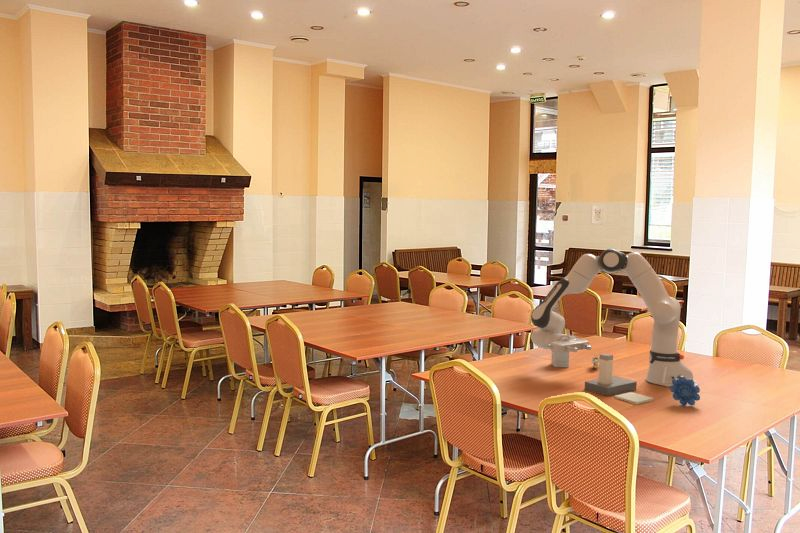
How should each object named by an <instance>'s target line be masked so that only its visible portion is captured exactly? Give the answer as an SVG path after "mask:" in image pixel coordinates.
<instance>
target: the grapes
mask: <svg viewBox="0 0 800 533" xmlns="http://www.w3.org/2000/svg"><path fill="white" fill-rule="evenodd" d="M672 384H673V385H672V386H670V387H669V391H670V392H671V393H672V398H673V399H674V400H675V401H679V403H680V404H681V405H682V406H687V405H689V406H695V405H696V402H698V401H700V400H701V395H699V393H700V391H701V388H700V387H699V385H698V386H694V384H695V383H694V381H693V380H692V379H688V380H686V378H685V377H683V376H681V377H679V380H678V379H673V380H672Z"/></svg>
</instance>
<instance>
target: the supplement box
mask: <svg viewBox="0 0 800 533" xmlns="http://www.w3.org/2000/svg"><path fill="white" fill-rule="evenodd" d="M550 364H551V365H552V366H553V367H554V368H569V367H570V366H569V365H570V352H564V353H558V352H554V351H551V362H550Z"/></svg>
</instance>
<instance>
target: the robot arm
mask: <svg viewBox="0 0 800 533" xmlns="http://www.w3.org/2000/svg"><path fill="white" fill-rule="evenodd" d="M575 262H576V263H575V264H574V265H573V266H572V268H571V270H570V271H569V272H568V274H567V275H566V276H565V277H563V278H560V279H559V280H558V281H557V283H555V284H554V286H553V287H552V288H551V290H550V291H549V292H548V293H547V294H546V296H545V297H544V298H543V299H542V301H541V302H540V303H539V304H538V305H537V306H535V308H534V309H533V310H532V312H531V315H530V321H531V323H532V325H533V326H535V327H537V328H536V329H534V330H532V332H531V335H530V338H531V341H532V343H533V344H534V346H536V347H539V348H540V349H544V350H550V351H551V352H552V351H554V352H558V353H564V352H569V353H577V352H578V351H582V350H583V351H584V350H588V351H590V350H592V346H591V345H590V342H589V340H587V339H584V338H581V337H577V336H576V335H573V334H564V333H563V332H564V330H565V327H566V319H565V317H564V316H563V315H561V314H559V313H557V312H555V311H553V309H554V308H555V306H556V305H557V303H559V301H560V300H561V298H563V296H566V295H570V294H576V295H577V294H582V293H585V292H586V291H587V289H589V287H590V286H591V284H592V282H593V281H594V279H595V277H596V276H597V275H598V274H599V273H604V274H607V275H614V274H617V273H618V272H619V271H621V272H624V273H625V274H626V275H627V277H628V279H629V280H630V281H631V283H632V284H633V286H634V287H635V288H636V290H637V291H638V293H639V294H640V296H641V298H642V300H643V302H644V305H646V307H647V309H648V311H649V313H650V315H651V318H653V324H652V332H651V341H650V344H651V345H650V350H649V355H648V360H649V367H648V371H647V375H646V378H645V381H646V382H648V383H651V384H654V385H660V386H664V387H667V388H668V387H669V388H670V386H672V385H673V384H672V380H673V379H678V380H679V377H681V376H683V377H685V378H686V380H688V379H692V380H693V381H694V383H695V384H694V386H698V387H699V382H698V381H697V380H696V379H694V373H693V371H692V369H691V368H689V367H688V366H687V365H686V364H685V363H684V362H683V361H682V360H684V359H685V355H683V354H681V353H679V352H678V336H679V328H680V318H681V311H682V310H681V309H682V306H681V304H680V302H679V301H678V299H677V298H675V297H674V296H670V295H669V293H668V292H667V289H666V287H665V285H664V283H663V281H662V280H661V278H660V277H659V276H658V274H657V273H656V271H655V270H654V268H652V266H651V264H650V263H649V262H648V260H647V259H646V258H645V257H644V256H643V255H642V254H641V253H640V252H637V251H633V252H629V253H628V254H625V253H624V252H622V251H620V250H617V249H615V248H609V249H605V250H603V251H602V252H601V253H600V255H599V256H598V255H594V254H592V253H585V254H582V255H581V256H580V257H579V258H578V260H577V261H575Z"/></svg>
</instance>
